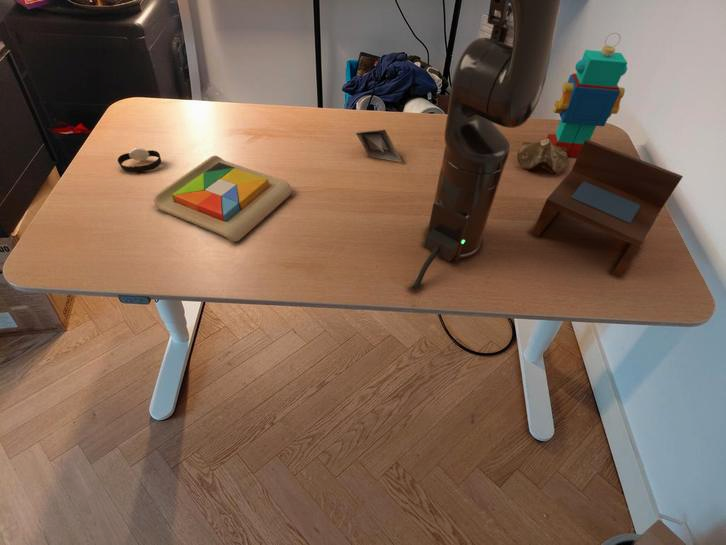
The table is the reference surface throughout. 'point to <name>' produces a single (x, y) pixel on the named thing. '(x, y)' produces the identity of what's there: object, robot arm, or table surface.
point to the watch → (140, 155)
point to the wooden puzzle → (223, 197)
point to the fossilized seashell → (543, 156)
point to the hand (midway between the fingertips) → (502, 44)
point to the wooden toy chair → (611, 195)
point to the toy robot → (589, 98)
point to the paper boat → (378, 145)
